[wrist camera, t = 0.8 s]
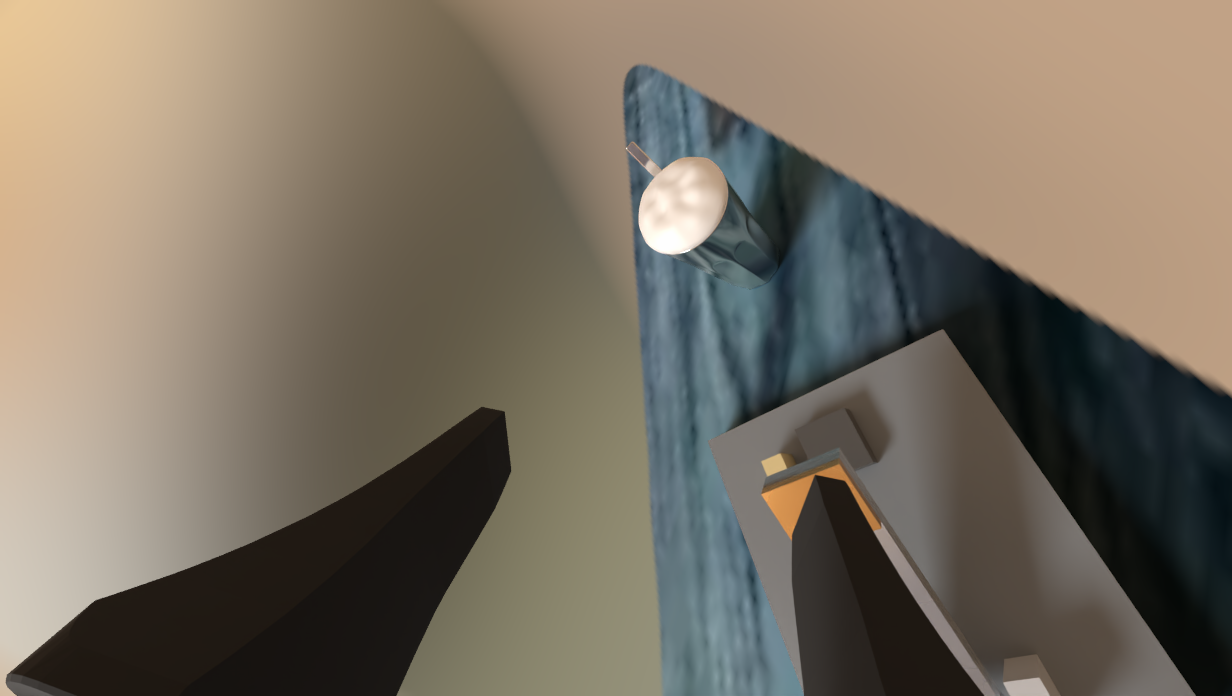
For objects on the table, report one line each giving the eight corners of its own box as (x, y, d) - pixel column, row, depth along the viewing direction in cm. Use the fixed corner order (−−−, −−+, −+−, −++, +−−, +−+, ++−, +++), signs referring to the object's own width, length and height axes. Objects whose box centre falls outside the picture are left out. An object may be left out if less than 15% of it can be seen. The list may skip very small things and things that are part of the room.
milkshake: (758, 201, 29) (665, 104, 21) (808, 264, 26) (723, 179, 18) (699, 252, 31) (595, 180, 23) (740, 316, 28) (638, 258, 20)
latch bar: (1012, 708, 16) (1026, 746, 15) (925, 718, 17) (931, 754, 16) (839, 445, 16) (839, 464, 15) (766, 475, 18) (761, 494, 16)
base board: (1205, 712, 15) (1253, 773, 12) (840, 746, 21) (810, 792, 18) (946, 336, 21) (935, 314, 18) (720, 442, 27) (683, 438, 24)
